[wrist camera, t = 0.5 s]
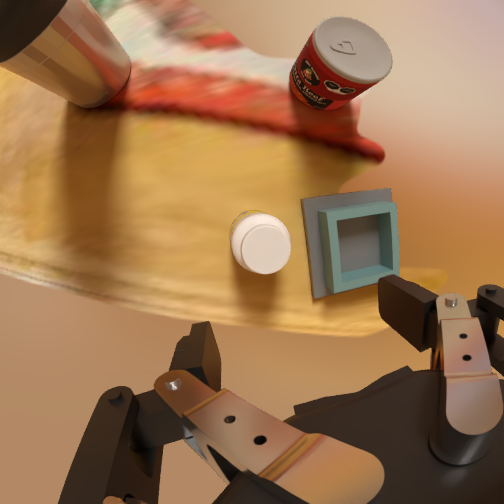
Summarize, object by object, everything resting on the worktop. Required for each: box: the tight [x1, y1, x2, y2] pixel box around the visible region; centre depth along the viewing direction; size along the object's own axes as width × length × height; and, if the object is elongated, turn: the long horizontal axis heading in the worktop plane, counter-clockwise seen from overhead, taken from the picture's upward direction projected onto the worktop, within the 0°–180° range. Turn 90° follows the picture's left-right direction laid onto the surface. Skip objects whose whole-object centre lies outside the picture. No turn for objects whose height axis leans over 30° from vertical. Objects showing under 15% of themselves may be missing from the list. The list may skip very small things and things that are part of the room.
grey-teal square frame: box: [301, 188, 399, 299], centre depth 31 cm, size 12×12×4 cm
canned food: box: [289, 16, 392, 110], centre depth 23 cm, size 8×8×11 cm
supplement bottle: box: [230, 210, 291, 274], centre depth 27 cm, size 5×5×10 cm
